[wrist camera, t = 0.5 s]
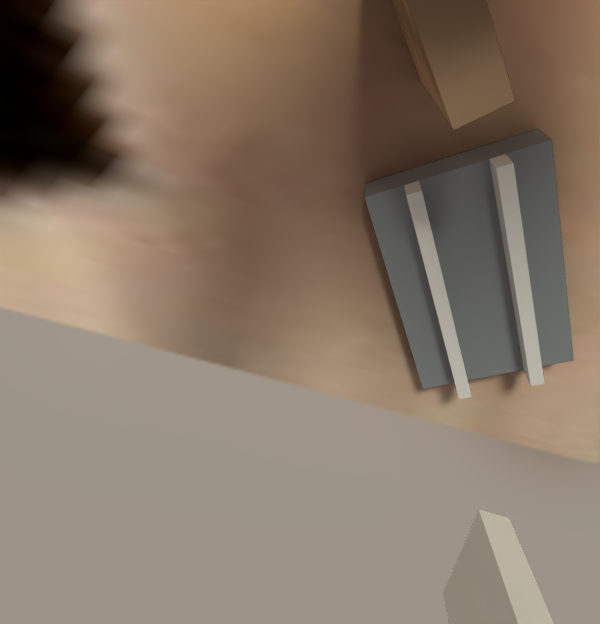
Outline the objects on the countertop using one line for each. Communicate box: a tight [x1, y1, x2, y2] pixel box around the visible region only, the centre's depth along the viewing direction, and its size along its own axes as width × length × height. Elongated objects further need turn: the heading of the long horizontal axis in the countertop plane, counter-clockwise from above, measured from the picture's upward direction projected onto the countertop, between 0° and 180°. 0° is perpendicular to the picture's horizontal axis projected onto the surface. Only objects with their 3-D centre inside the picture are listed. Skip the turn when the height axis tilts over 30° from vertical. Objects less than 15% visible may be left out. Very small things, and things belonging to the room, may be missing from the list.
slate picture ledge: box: [365, 129, 574, 399], centre depth 36 cm, size 18×12×5 cm, turn 20°
